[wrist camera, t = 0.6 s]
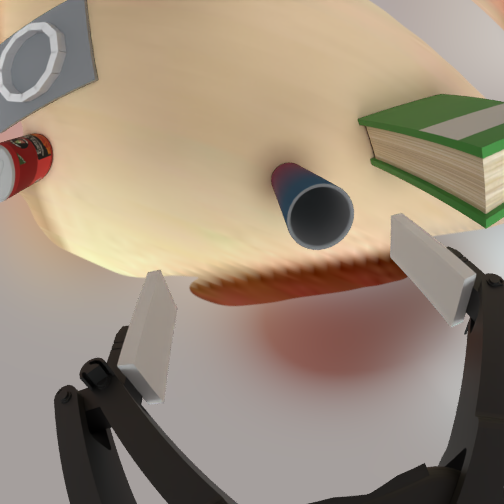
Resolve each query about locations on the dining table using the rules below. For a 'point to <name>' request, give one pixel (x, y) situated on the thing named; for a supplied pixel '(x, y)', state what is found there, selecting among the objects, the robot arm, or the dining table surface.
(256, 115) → the dining table surface
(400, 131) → the hardback book
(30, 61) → the holder
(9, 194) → the canned food
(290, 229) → the cup
